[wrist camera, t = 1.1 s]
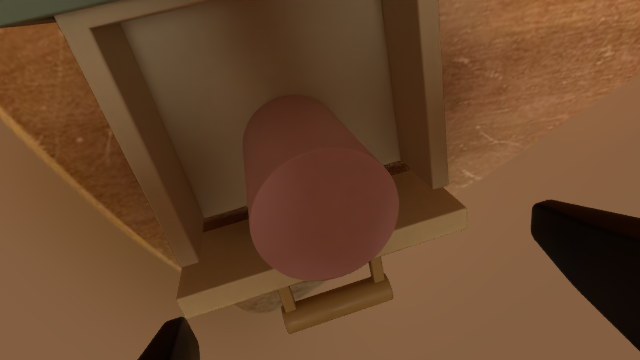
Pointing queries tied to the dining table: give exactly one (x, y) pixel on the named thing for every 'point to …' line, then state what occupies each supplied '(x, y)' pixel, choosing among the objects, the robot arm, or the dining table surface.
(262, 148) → the red cylinder
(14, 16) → the cabinet
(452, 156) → the dining table surface
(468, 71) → the dining table surface
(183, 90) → the drawer
